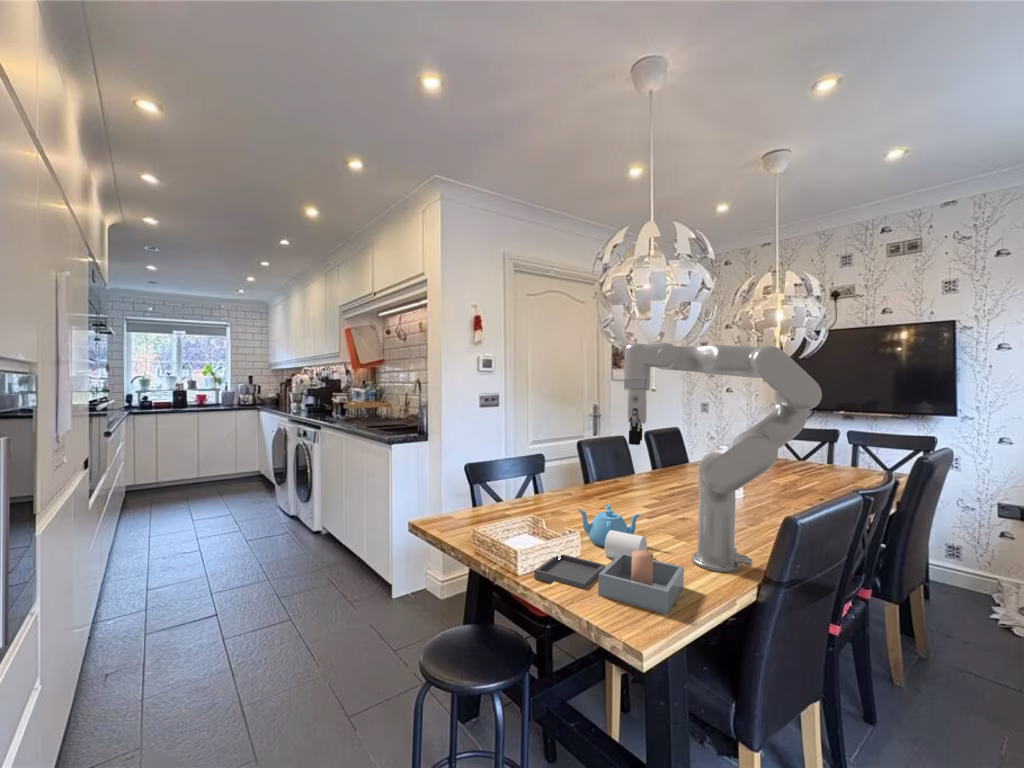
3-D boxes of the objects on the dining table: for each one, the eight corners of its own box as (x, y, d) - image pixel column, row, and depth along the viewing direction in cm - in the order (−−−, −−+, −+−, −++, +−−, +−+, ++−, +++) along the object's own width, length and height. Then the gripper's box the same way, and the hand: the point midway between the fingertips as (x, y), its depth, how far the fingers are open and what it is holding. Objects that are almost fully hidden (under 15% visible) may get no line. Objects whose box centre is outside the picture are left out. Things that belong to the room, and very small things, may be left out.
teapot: (607, 554, 136) (608, 520, 136) (574, 538, 149) (575, 507, 148) (641, 545, 144) (641, 513, 144) (607, 531, 156) (608, 501, 156)
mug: (638, 570, 125) (639, 541, 124) (604, 562, 130) (604, 534, 130) (650, 556, 135) (651, 529, 135) (618, 549, 140) (618, 523, 140)
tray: (605, 572, 122) (605, 564, 122) (584, 593, 111) (584, 584, 111) (558, 560, 130) (558, 553, 130) (534, 578, 118) (534, 570, 118)
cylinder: (655, 589, 111) (655, 552, 111) (649, 597, 107) (649, 559, 106) (634, 584, 114) (635, 548, 113) (628, 592, 109) (629, 554, 109)
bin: (683, 590, 113) (683, 566, 112) (667, 619, 99) (667, 591, 99) (620, 575, 121) (621, 552, 121) (598, 599, 108) (598, 574, 108)
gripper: (648, 386, 126) (647, 447, 127) (651, 385, 143) (649, 439, 143) (621, 385, 129) (619, 445, 129) (626, 384, 145) (625, 438, 145)
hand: (635, 442), depth 136 cm, fingers open, 9 cm apart
